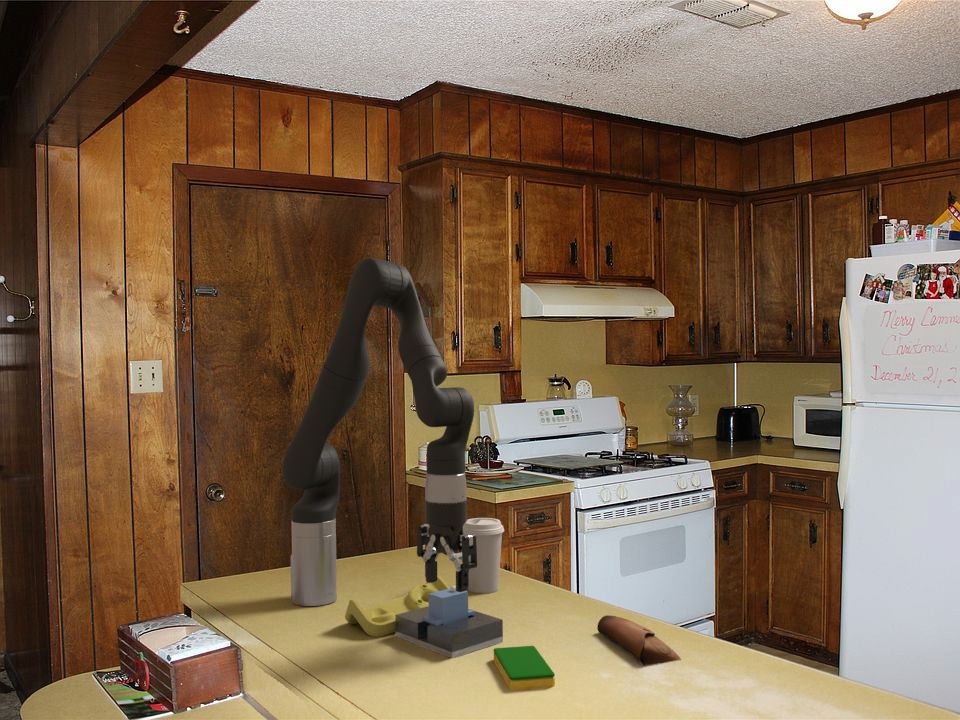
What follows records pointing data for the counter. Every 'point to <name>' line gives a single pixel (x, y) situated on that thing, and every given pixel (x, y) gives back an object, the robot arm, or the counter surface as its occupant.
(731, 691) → the counter surface
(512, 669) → the dish sponge
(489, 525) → the coffee cup
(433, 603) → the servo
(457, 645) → the grey hollow block
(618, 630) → the sunglasses case
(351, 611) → the plastic component
